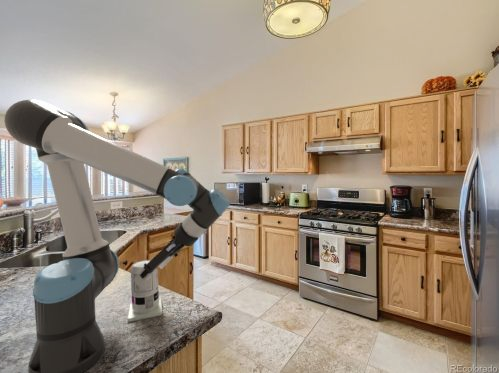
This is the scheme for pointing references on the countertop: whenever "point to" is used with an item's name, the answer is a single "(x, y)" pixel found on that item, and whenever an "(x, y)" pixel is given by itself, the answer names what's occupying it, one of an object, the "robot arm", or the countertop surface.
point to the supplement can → (144, 289)
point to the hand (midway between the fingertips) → (148, 273)
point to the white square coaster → (138, 316)
